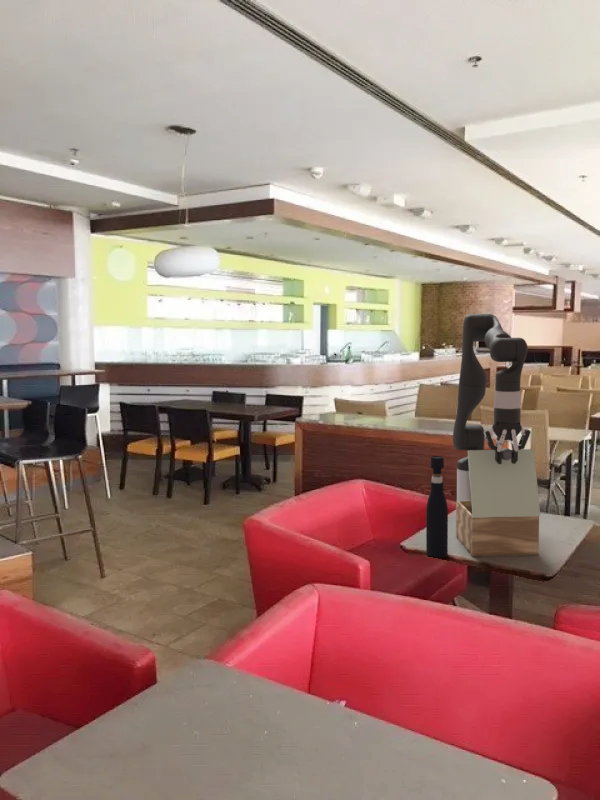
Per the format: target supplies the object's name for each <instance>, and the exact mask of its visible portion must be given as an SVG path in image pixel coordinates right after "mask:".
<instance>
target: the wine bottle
mask: <svg viewBox="0 0 600 800" xmlns="http://www.w3.org/2000/svg"><path fill="white" fill-rule="evenodd" d="M444 462H445V461H444V456H441V455H432V456H430V469H432V476H431V482H430V492H429V495H428V498H427V502H426V509H425V511H426V512H425V513H426V515H425V516H426V521H425V523H426V524H425V525H426V527H425V529H426V531H425V532H426V533H425V536H426V537H425V539H426V541H425V545H426V547H425V548H426V550H425V551H426V556H429V557H430V558H436V559H437V558H446V557H447V556H448V553H449V551H448V549H449V547H448V545H449V544H448V542H449V541H448V539H449V537H448V536H449V535H448V534H449V529H448V528H449V526H448V523H449V522H448V521H449V516H448V515H449V508H448V507H449V506H448V502H447V498H446V496H445V492H444V482H443V481H444V480H443V479H444V478H443V476H442V474H443V473H442V470H443V469H444V464H445V463H444Z"/></svg>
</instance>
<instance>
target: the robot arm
mask: <svg viewBox="0 0 600 800" xmlns="http://www.w3.org/2000/svg"><path fill="white" fill-rule="evenodd" d="M474 342H484V344H485V346H486V347H487V349H488V350H489V355H490V359H491V360H493V362H497V363H512V364H511V365H510V367H507V368H506V369H501V370H498V371H496V372H495V383H494V387H495V388H494V395H493V396H494V398H493V399H494V401H493V425H492V427H491V428H489V429H484V426H482V425H481V424H467V423H468V422H467V421H468V420H469V417H470V415H472V412H474V410H476V408H477V407H478V406H479V404H480V403H481V402H482V400H483V399H484V397H485V395H486V388H487V382H488V381H487V380H488V377H487V374H486V372H485V369H484V368H483V366H482V365H481V363H480V361H479V359H478V357H477V355H476V353H475V351H474ZM461 344H462V345H461V347H462V349H461V363H460V371H459V381H458V389H457V391H458V392H457V393H458V394H457V405H456V406H457V407H456V413H455V420H454V424H453V425H454V426H453V431H452V445H453V448H454V449H455V450H456V451H468V450H485V440H486V443H487V446H488V448H489V450H495V461H496V462H497V463H498V464H501V463H502V452H501V450H502V449H503V448H502V447H503V445H504V442H505V441H509V443H510V445H511V449H510V450H511V451H512V458H511V463H513V464H516V462H517V461H518V451H519V450H521V449H526V445H527V442H528V441H529V438H530V435H531V430H530V429H528V428H524V427H522V425H521V417H522V416H521V415H522V414H521V412H522V410H521V408H522V407H521V406H522V397H521V378H522V371H523V367H524V365H525V364H524V363H525V362H526V361H525V360H526V359H527V356H528V351H529V348H528V344H527V341H526V340H525V339H524V338H522V337H512V336H511V335H510V334H508V332H506V331H505V330H504V329H503V327H502V325H501V322H500V321H499V319H498V318H497V316H495V314H493V313H469V314H466V315H465V317H464V319H463V325H462V343H461ZM493 433H494V434H495V435H496V439H495V443H494V441H493V438H492V437H493ZM519 434H520V435H521V437H520V439H519V442H518V438H517V437H518V436H519ZM456 501H471V490H470V477H469V464H468V455H467V456H465V457H463V458H460V459H458V460H457V463H456Z"/></svg>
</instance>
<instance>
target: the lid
mask: <svg viewBox="0 0 600 800" xmlns="http://www.w3.org/2000/svg"><path fill="white" fill-rule="evenodd" d="M511 450H512V449H510V448H507V447H504V448H502V449H501V452H502V463H501V464H498V463H497V462H496V461H495V450H492V449H484V450H467V456H468V464H469V477H470V490H471V503H472V517H512V516H539V517H541V510H540V509H541V507H540V498H539V489H538V478H537V469H536V457H535V449H534V448H524V449H521V450H519V451H518V461H517V462H516V464H513V463H511V458H512V451H511Z"/></svg>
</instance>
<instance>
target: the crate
mask: <svg viewBox="0 0 600 800" xmlns="http://www.w3.org/2000/svg"><path fill="white" fill-rule="evenodd" d="M455 505H456V508H455V511H456V515H455V516H456V518H455V521H456V522H455V523H456V524H455V525H456V527H455V528H456V529H455V533H456V534H455V535H456V536H455V537H456V539H458V541H459V542H460V544H462V546H463V547H464V548H465V550H466V549H467V550H466V551H467V552H468V554H469V555H470V554H471V555H472V556H482V557H510V556H511V557H513V556H514V557H515V556H516V557H517V556H522V557H523V556H539V551H540V550H539V545H540V516H512V517H472V503H471V501H457V500H456V504H455ZM471 555H470V556H471ZM472 556H471V557H472Z"/></svg>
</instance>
